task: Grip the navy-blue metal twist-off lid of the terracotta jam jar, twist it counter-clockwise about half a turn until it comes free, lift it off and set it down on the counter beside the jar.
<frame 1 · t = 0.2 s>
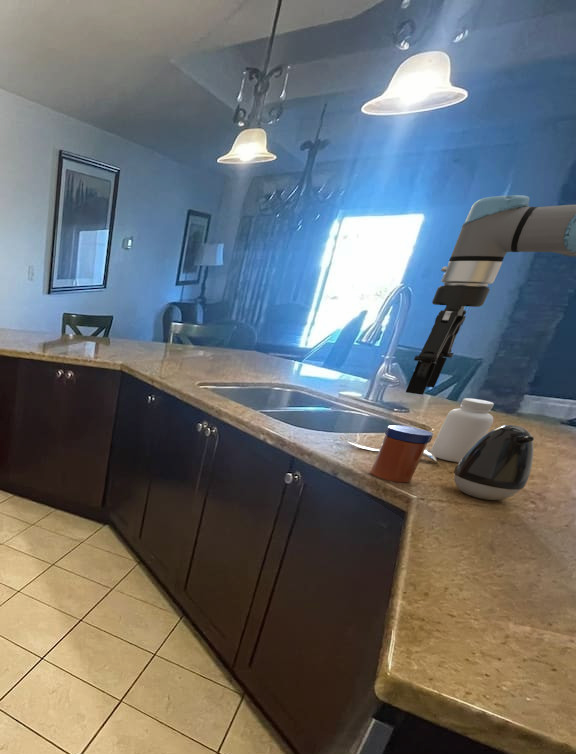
hand: (420, 389, 106), 19 cm above the countertop, tool pointing down, fingers open, 13 cm apart
lid: (409, 431, 106), point 11 cm above the countertop, screwed on, not yet turned
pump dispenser: (479, 496, 102), on the countertop
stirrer: (384, 453, 126), on the countertop
jar: (389, 476, 111), on the countertop
pill bottle: (449, 459, 124), on the countertop
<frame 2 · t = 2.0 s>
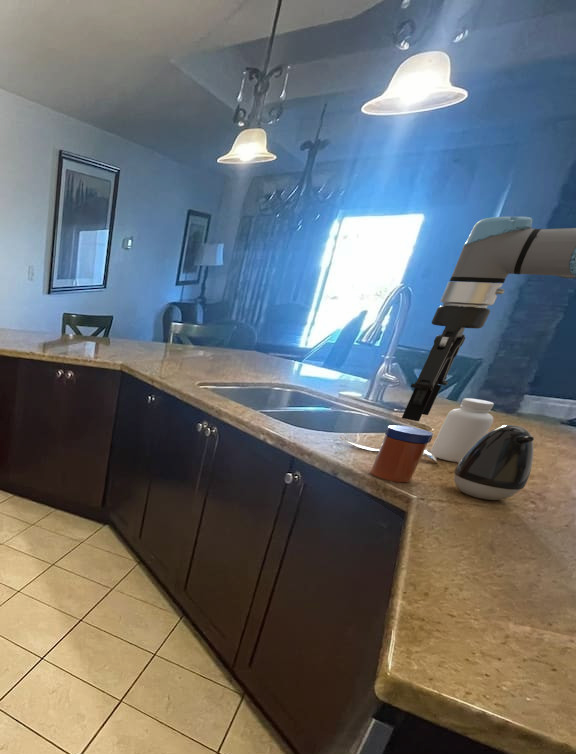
hand: (415, 416, 105), 14 cm above the countertop, tool pointing down, fingers open, 9 cm apart
nothing on the countertop moved.
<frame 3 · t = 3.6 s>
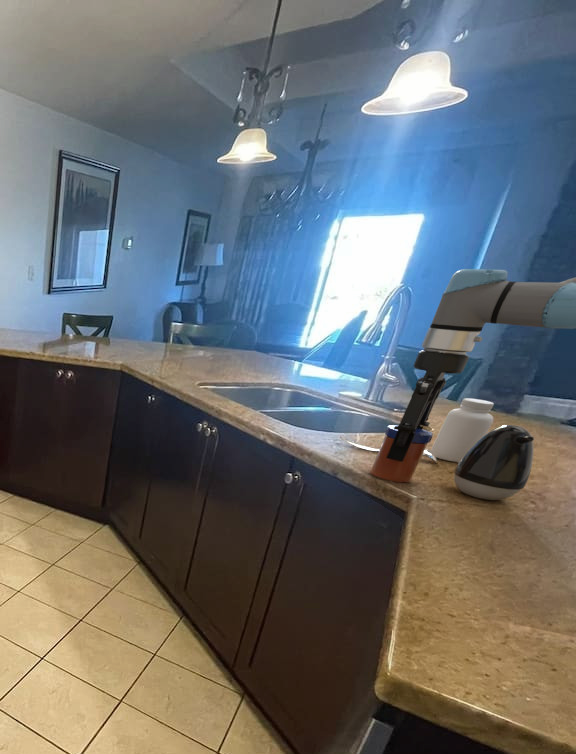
hand: (398, 455, 109), 5 cm above the countertop, tool pointing down, fingers closed on lid, 7 cm apart
lid: (409, 431, 106), point 11 cm above the countertop, screwed on, not yet turned, touching gripper
everything else where it was.
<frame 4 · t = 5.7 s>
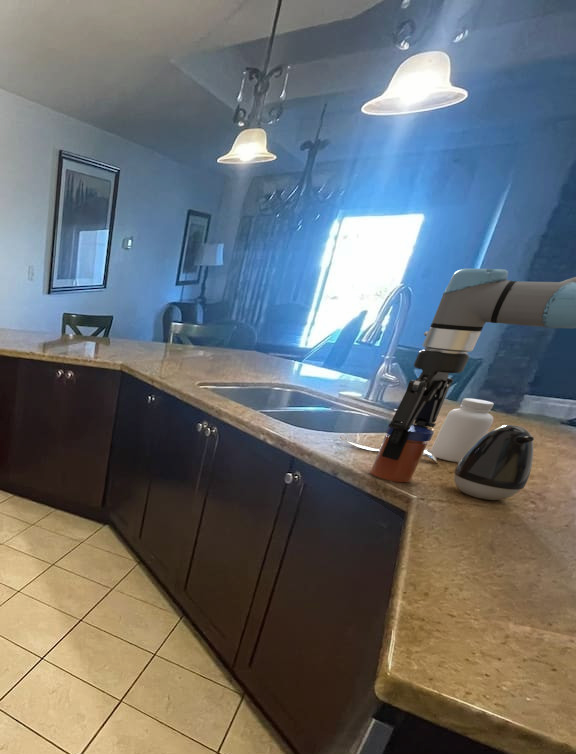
hand: (398, 455, 109), 5 cm above the countertop, tool pointing down, fingers closed on lid, 7 cm apart
lid: (410, 429, 106), point 11 cm above the countertop, off its thread, touching gripper
everything else where it was.
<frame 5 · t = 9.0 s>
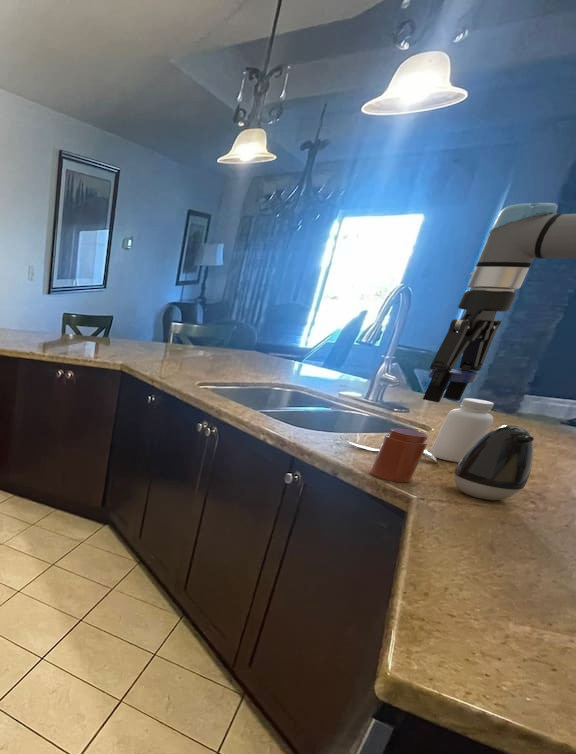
hand: (441, 399, 109), 17 cm above the countertop, tool pointing down, fingers closed on lid, 7 cm apart
lid: (453, 372, 107), point 23 cm above the countertop, off its thread, touching gripper
everything else where it was.
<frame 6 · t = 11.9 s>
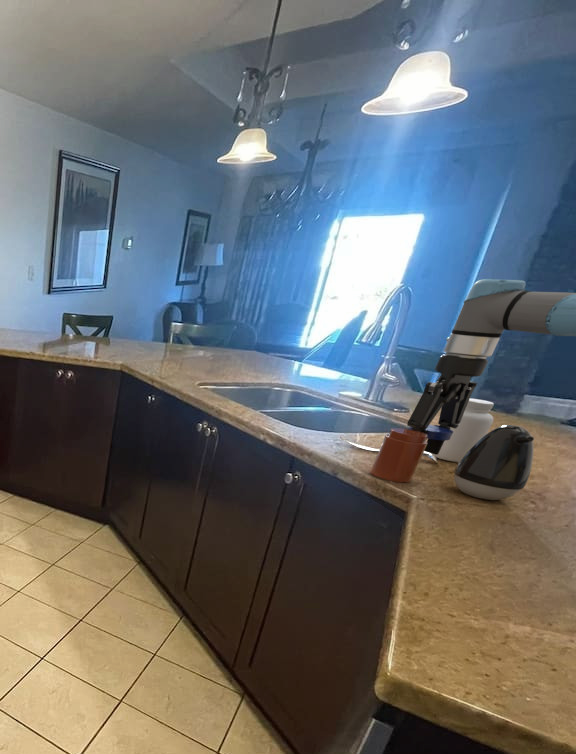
hand: (419, 453, 115), 4 cm above the countertop, tool pointing down, fingers closed on lid, 7 cm apart
lid: (430, 429, 113), point 9 cm above the countertop, off its thread, touching gripper
everything else where it was.
when the fingers open (0 cm above the countertop, at t = 14.4 s): lid drops 5 cm, point 1 cm above the countertop.
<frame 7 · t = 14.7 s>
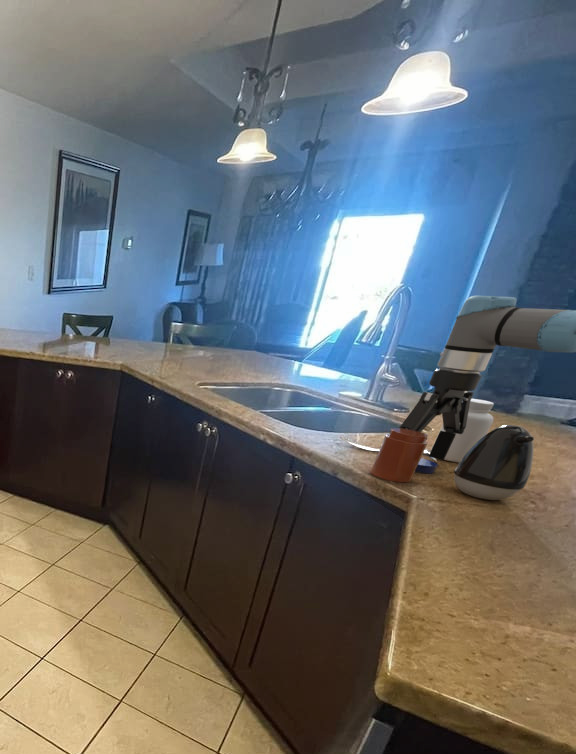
hand: (418, 460, 116), 2 cm above the countertop, tool pointing down, fingers open, 13 cm apart
lid: (415, 462, 116), point 1 cm above the countertop, off its thread
everything else where it was.
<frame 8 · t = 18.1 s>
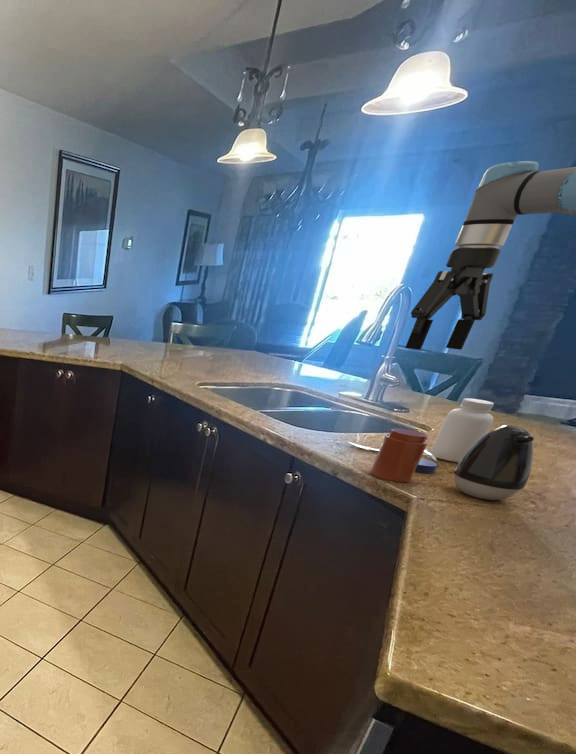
hand: (433, 348, 113), 27 cm above the countertop, tool pointing down, fingers open, 13 cm apart
nothing on the countertop moved.
at the end: lid came off its thread; lid point 1.4 cm above the countertop; the gripper is holding nothing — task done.
